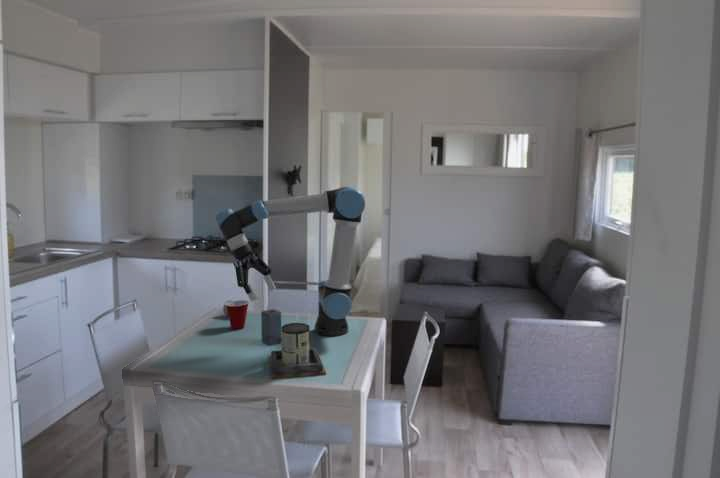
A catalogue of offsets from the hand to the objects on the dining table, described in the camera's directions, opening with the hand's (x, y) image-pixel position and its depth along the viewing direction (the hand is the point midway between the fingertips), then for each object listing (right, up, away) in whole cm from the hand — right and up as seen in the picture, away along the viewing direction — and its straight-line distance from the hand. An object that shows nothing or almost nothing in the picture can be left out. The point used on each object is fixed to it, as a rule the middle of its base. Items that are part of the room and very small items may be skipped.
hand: (264, 295), depth 208 cm
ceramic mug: (-23, -16, +49) cm, 57 cm away
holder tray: (+15, -25, -15) cm, 32 cm away
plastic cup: (-18, -18, +30) cm, 40 cm away
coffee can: (+14, -24, -15) cm, 32 cm away
